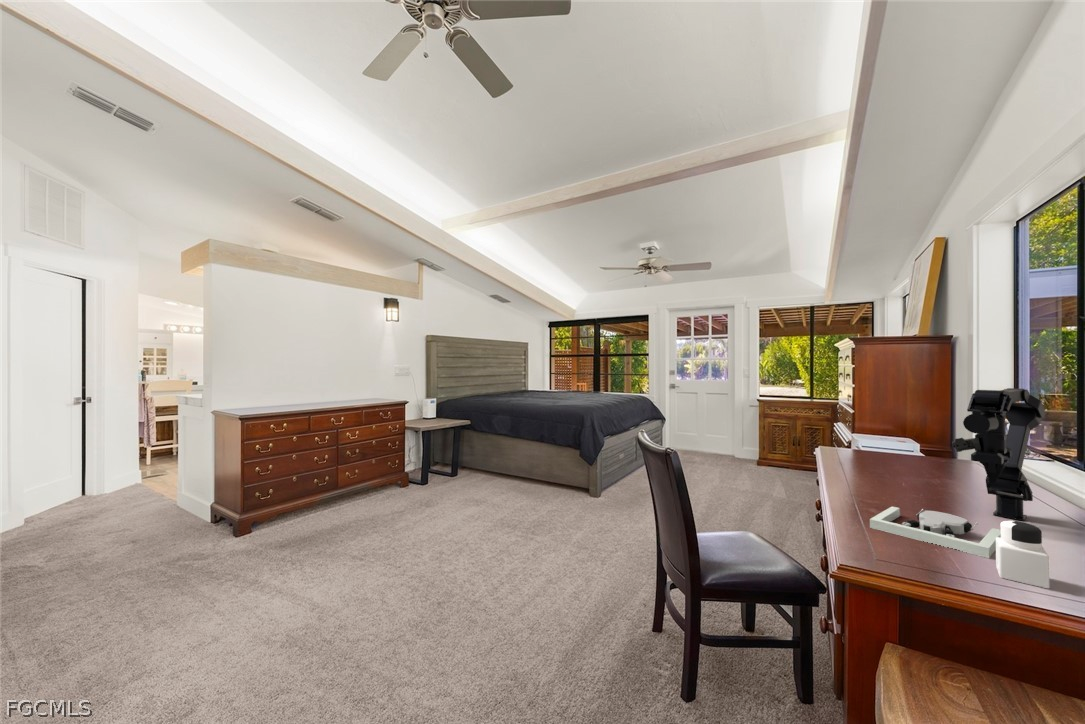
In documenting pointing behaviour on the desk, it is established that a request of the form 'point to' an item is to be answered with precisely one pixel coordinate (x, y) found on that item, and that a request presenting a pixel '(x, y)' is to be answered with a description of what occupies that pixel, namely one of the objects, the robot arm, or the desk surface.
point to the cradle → (934, 534)
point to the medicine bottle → (1022, 554)
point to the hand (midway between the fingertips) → (992, 482)
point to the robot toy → (940, 523)
